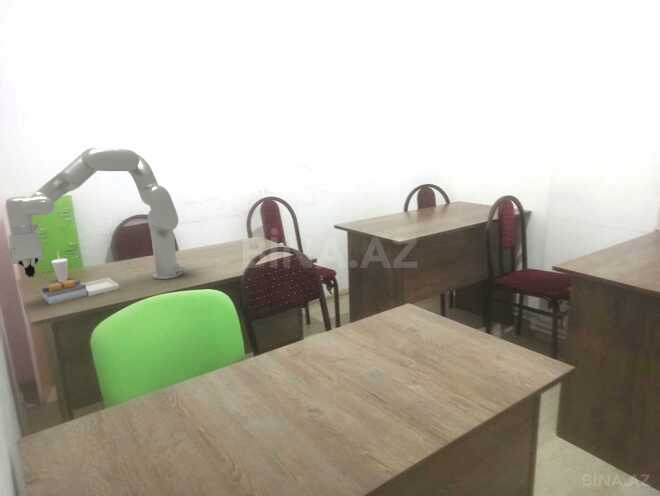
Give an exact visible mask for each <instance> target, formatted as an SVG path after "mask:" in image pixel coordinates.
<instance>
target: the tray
mask: <svg viewBox="0 0 660 496" xmlns="http://www.w3.org/2000/svg"><path fill="white" fill-rule="evenodd" d="M82 284H85V285H86V289H87V295H88V297H94V296H99V295H102V294H105V293H110V292H114V291H118V290H120V289H121V288H120V284H119V283H117V282H115V281H114V280H112V279H111V278H109V277H104V278H101V279H97V280H91V281H88V282H84V283H83V282H82V283H81V285H82Z"/></svg>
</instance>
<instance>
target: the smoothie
mask: <svg viewBox="0 0 660 496" xmlns="http://www.w3.org/2000/svg"><path fill="white" fill-rule="evenodd" d="M56 255H57V259H52V260H51V261H50V263H51V265H52V267H53V270H54V274H55V276H56V278H57V283H62V282H64V281H68V280H69V277H68V276H69V275H68V258H60V253H59V251H58V250H57V251H56Z"/></svg>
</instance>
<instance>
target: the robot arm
mask: <svg viewBox="0 0 660 496" xmlns="http://www.w3.org/2000/svg"><path fill="white" fill-rule="evenodd" d="M97 172H128V174H130V176H131V177H132V180H133V182H134V183H135V186H136V188H137V191H138V194H139V197H140V200H141V201H142V203H144V204H145V205H146V206H149V208H150V210H149V211H148V214H147V224H148V228H149V231H150V236H151V244H152V252H153V260H154V269H155V272H154V273H152V277H153V279H155V280H168V279H175V278H177V277H180V276H181V275H182V273H186V272H187V268H186V266H180V263H178V261H177V252H176V246H175V245H176V244H175V243H176V242H175V235H174V230H175V229H176V228H177V226H178V224H179V216H178V212H177V210H176V206H175V204H174V202H173V200H172V197H171V194H170V193H169V191H168V190H167V189H166V188H165V187H164V186H162V185H159V183H158V181H157V178H156V176H155V174H154V171H153V170H152V167H151V166H150V164H149V163H148V162H147V160H145V158H143V157H142V156H140V155H139V154H137V153H136V152H135V151H133V150H131V149H124V148H123V149H122V148H120V149H119V148H118V149H107V148H105V149H103V148H94V147H93V148H92V147H91V148H87V149H86V150H84V151H83V152H82V153H81V154H79V155H78V156H77V157H75V159H74V160H73V161H71V162H70V163H68V165H67V166H65V167H64V168H63V169H62V170H61V171H59V172H58V173H57V174H56V175H55V176H53V177H52V178H51V179H50V180H49V181H47V182H46V183H45V184H43V185H42V186H41V187H40V188H39V189H38V190H37V191H35V192H34V193H33V194H32V195H31V196H30V197H26V196H13V197H9V198H6V200H5V206H6V212H7V217H8V223H9V228H10V232H11V233H10V234H8V246H9V254H10V258H11V260H10V261H11V264H12V265H20V266H22V267H23V268H24V273H25V274H24V275H25V276H28V278H31V277H32V278H34V277H35V274H36V270H35V265H36V264H37V263H38V262H39V261H42V260H44V259H45V257H44V255H43V253H44V252H43V248H42V244H41V240H40V237H39V234H38V232H37V231H36V230H37V229H39V225H38V224H34V221H33V216H48V215H51V213H52V212H54V209H55V208H56V206H55V203H56V202H57V201H59V200H60V198H62V197H63V196H65V195H66V194H67V193H69V192H72V191H75V190H77V189H79V188H80V187H81V186H82V185H84V183H86V182H87V180H89V179H90V178H91V177H92V176H94V175H95V174H96V173H97ZM27 260H29V264H28V263H27Z"/></svg>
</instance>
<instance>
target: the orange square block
mask: <svg viewBox="0 0 660 496" xmlns="http://www.w3.org/2000/svg"><path fill="white" fill-rule="evenodd" d="M75 281H76V280H73V279H68V281H64V282H61V284H62V286H63V289H64V288H69V287H73V286H76V284H75Z"/></svg>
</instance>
